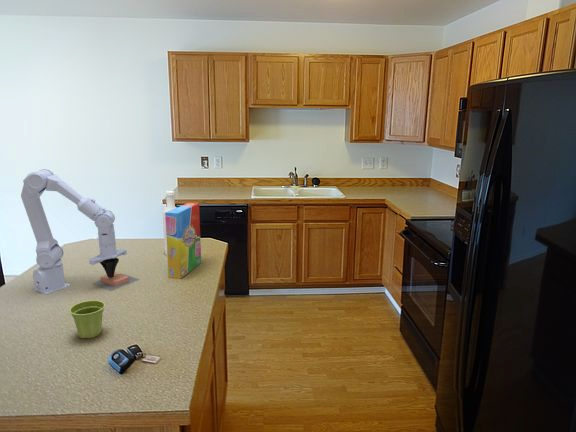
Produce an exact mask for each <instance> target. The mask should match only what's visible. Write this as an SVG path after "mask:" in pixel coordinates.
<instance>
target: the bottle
mask: <svg viewBox="0 0 576 432" xmlns="http://www.w3.org/2000/svg"><path fill="white" fill-rule="evenodd" d="M175 195H176V194H175V191H174V190H166V191H165V197H166V198H165V199H166V201H165V202H166V206H165V208H164V209H163V211H162V224H163V242H164V254H165V256H167V257H168V255H167V236H166V220H165V212H168V211H170V210H173V209H175V208H178V206H176V204H175V203H176V201H175Z"/></svg>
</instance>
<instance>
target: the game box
mask: <svg viewBox="0 0 576 432" xmlns="http://www.w3.org/2000/svg"><path fill="white" fill-rule="evenodd" d="M200 218H201V217H200V203H199V202H186V203H184V204H182V205H180V206H177V208H175V209H173V210H170V211H168V212H165V220H166V236H167V255H168V256H167V255H166V256H167V271H168V272H167V274H168V278H169V279H179V280H180V279H181V280H182V278H184V276H186V275H187V274H188V273H190V272H191V271H192V270H193V269H195V268H196V267H197V266H199V264H201V263H202V254H201V253H202V251H201V250H202V249H201V248H202V247H201V244H202V243H201V220H200Z"/></svg>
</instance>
